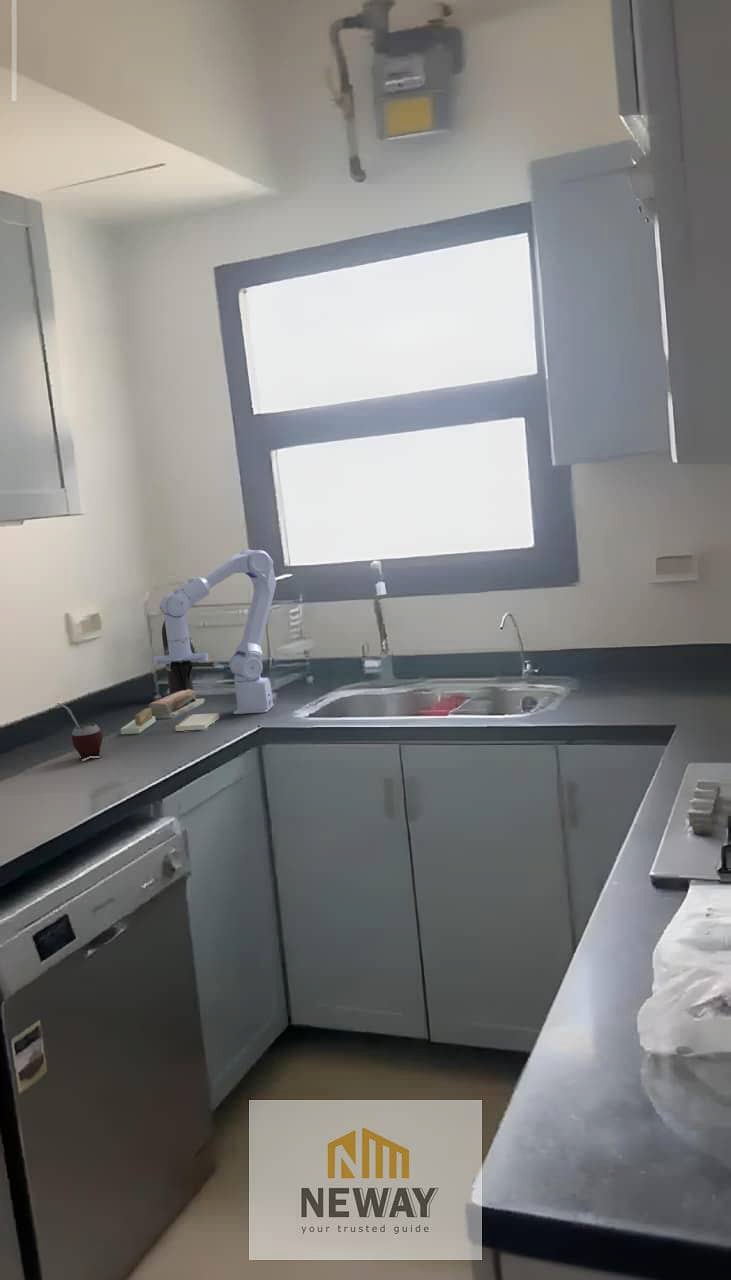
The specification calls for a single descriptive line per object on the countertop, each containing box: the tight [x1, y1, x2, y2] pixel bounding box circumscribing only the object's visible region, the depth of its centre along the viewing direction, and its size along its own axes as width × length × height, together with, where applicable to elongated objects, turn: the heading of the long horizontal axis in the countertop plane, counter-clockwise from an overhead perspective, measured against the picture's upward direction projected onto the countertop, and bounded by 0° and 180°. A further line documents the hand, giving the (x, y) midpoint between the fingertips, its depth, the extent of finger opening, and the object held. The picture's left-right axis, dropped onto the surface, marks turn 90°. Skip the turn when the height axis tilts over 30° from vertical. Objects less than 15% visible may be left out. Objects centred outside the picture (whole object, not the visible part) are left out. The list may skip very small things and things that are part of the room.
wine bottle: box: [161, 620, 194, 695], centre depth 317 cm, size 7×7×30 cm
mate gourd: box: [56, 702, 103, 760], centre depth 257 cm, size 8×8×15 cm
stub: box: [120, 707, 157, 735], centre depth 284 cm, size 5×12×4 cm, turn 170°
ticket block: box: [174, 712, 220, 732], centre depth 281 cm, size 8×12×2 cm, turn 170°
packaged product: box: [147, 689, 205, 719], centre depth 302 cm, size 18×5×10 cm
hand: (185, 689), depth 282 cm, fingers closed
